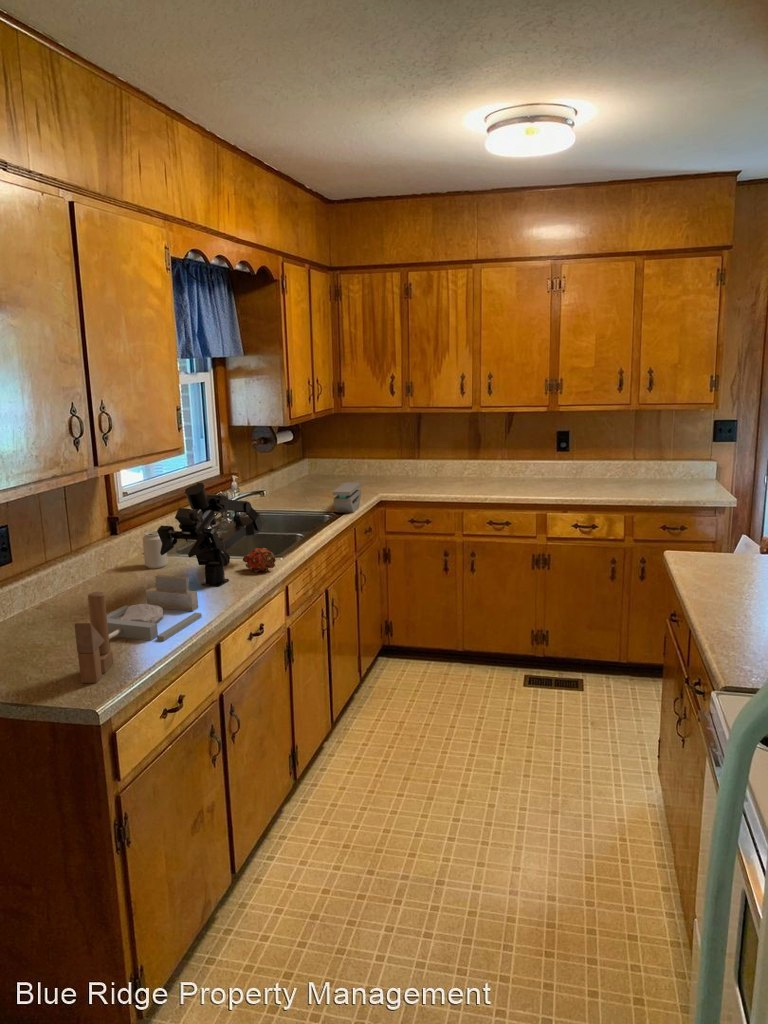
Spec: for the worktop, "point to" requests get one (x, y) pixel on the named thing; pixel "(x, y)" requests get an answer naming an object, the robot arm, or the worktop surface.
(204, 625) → the worktop surface
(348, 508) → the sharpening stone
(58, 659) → the worktop surface
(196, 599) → the bar
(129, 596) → the worktop surface
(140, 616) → the stone block
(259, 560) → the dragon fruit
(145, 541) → the can
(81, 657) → the wooden block
